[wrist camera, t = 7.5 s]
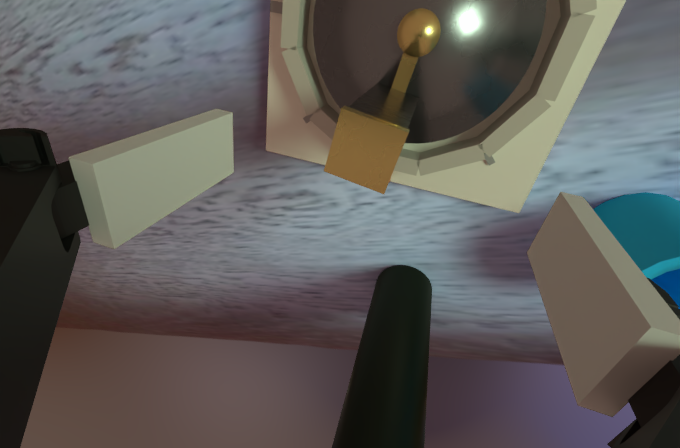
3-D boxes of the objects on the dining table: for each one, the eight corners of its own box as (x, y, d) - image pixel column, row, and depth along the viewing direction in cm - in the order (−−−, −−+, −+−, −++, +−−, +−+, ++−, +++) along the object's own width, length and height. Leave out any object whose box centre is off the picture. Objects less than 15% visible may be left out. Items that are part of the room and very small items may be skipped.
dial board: (704, -182, 17) (759, -226, 14) (515, 205, 28) (523, 225, 25) (288, -213, 20) (261, -255, 17) (272, 145, 31) (255, 157, 29)
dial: (353, -143, 19) (266, -305, 10) (595, -69, 18) (756, -172, 9) (301, 101, 27) (225, 140, 17) (470, 163, 26) (485, 241, 16)
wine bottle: (431, 310, 36) (402, 951, 11) (378, 305, 38) (247, 853, 13) (432, 266, 33) (393, 981, 8) (374, 263, 35) (198, 853, 10)
